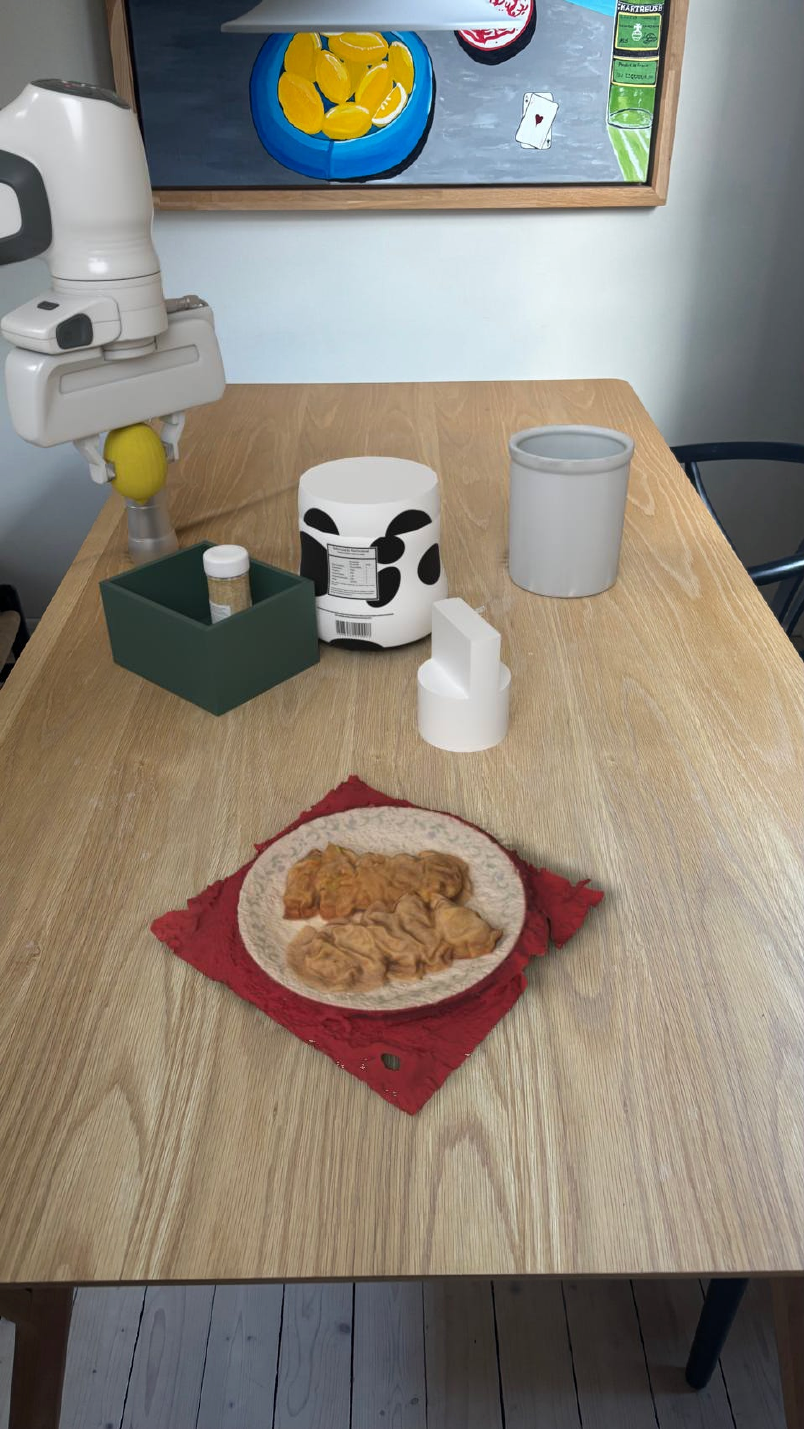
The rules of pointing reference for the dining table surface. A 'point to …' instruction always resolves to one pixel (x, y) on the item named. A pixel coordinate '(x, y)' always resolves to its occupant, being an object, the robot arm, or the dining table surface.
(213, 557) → the sprinkles bottle
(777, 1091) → the dining table surface
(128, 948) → the dining table surface
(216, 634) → the bin
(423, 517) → the milk container
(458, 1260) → the dining table surface
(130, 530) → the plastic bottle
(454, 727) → the cylinder with rectangular tab
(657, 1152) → the dining table surface
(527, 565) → the utensil holder
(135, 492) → the lemon
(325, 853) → the plate with food
